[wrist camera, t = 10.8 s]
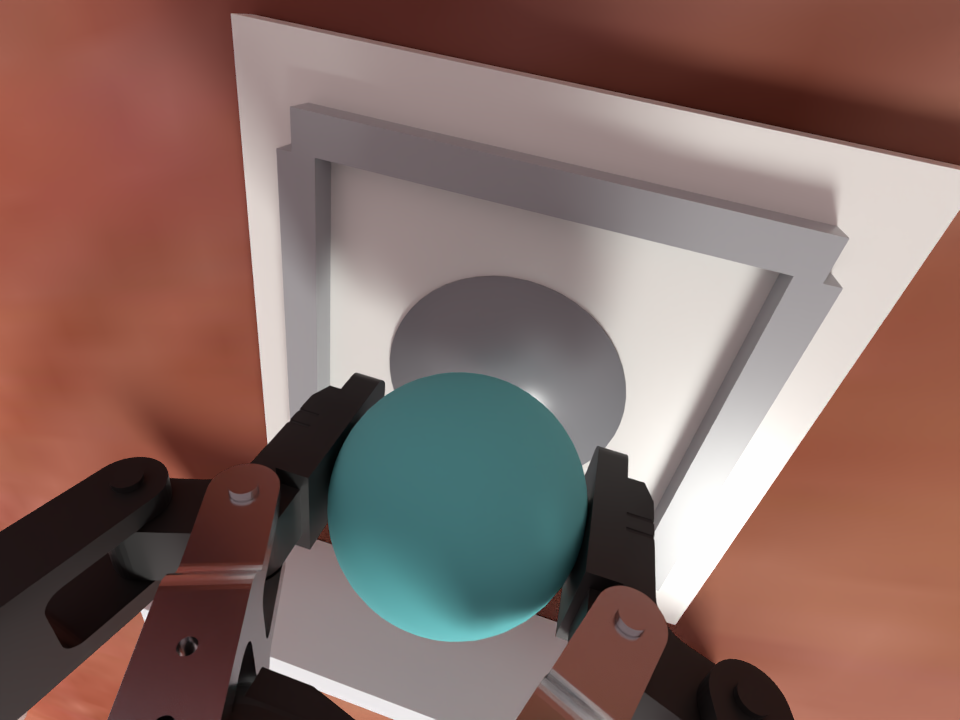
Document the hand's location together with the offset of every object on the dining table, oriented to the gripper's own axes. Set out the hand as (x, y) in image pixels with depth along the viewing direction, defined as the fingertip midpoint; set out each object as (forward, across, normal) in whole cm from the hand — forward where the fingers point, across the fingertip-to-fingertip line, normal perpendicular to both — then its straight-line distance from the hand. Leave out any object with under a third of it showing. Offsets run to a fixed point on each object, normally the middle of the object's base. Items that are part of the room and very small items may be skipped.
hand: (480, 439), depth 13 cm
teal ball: (-2, 0, 0) cm, 2 cm away
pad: (+3, 0, 0) cm, 3 cm away
